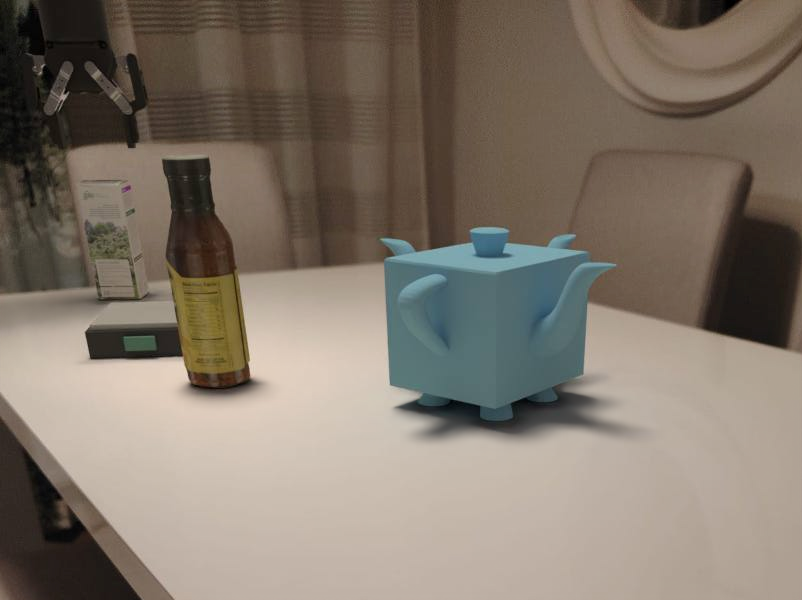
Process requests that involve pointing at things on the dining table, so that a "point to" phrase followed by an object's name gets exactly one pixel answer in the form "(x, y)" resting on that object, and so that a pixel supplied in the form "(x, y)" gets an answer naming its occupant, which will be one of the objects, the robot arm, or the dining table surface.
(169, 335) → the scale
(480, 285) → the teakettle
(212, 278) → the sauce bottle
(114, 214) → the syrup box
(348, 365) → the dining table surface
